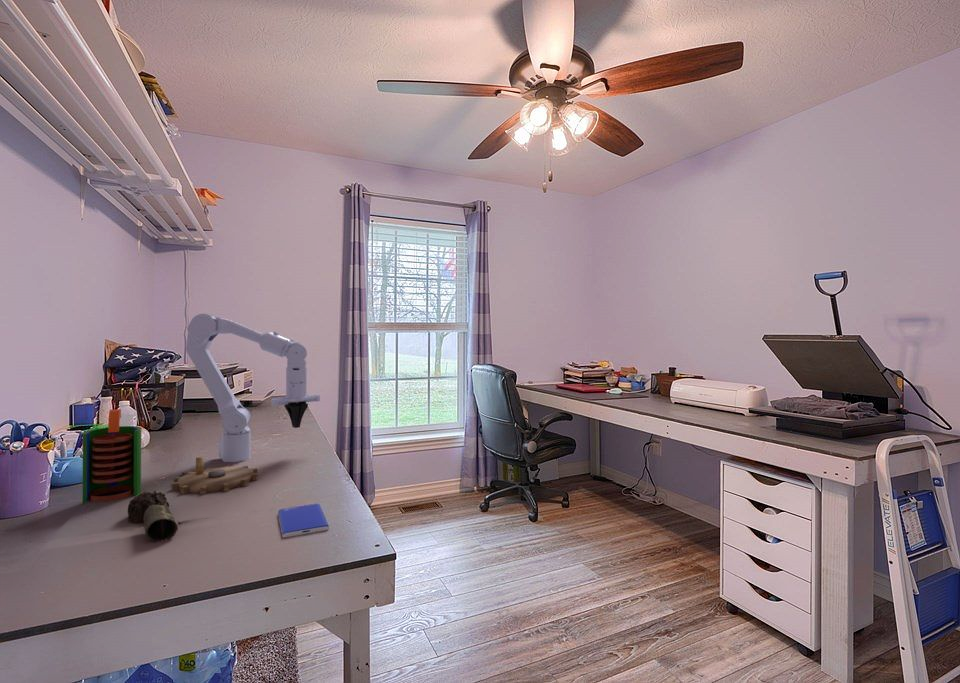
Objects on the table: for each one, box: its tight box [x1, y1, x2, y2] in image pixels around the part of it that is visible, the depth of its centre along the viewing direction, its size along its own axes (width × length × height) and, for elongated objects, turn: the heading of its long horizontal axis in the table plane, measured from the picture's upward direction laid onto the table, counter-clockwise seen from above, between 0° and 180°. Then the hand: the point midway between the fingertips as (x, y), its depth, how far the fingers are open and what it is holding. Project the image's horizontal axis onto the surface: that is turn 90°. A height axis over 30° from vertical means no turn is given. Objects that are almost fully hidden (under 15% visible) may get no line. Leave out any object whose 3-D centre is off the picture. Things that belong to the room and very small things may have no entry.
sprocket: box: [171, 456, 259, 495], centre depth 112 cm, size 18×18×6 cm
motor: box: [81, 408, 142, 506], centre depth 102 cm, size 10×9×20 cm
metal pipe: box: [127, 490, 179, 543], centre depth 88 cm, size 18×7×6 cm, turn 40°
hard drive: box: [277, 503, 329, 538], centre depth 91 cm, size 2×8×12 cm
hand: (296, 427), depth 139 cm, fingers closed
